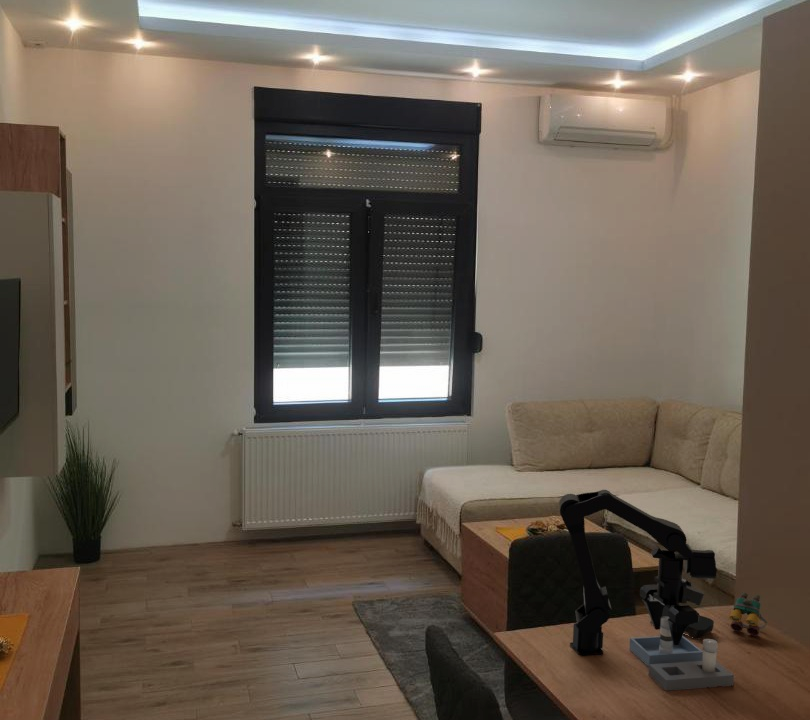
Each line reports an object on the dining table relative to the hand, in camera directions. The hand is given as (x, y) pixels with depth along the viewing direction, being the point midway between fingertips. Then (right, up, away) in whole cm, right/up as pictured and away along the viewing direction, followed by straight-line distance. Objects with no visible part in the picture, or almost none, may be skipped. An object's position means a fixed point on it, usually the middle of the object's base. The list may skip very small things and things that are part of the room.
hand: (666, 636), depth 209 cm
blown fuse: (0, -4, 0) cm, 4 cm away
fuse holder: (+2, -6, -12) cm, 13 cm away
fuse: (+6, -6, -11) cm, 14 cm away
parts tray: (0, -5, 0) cm, 5 cm away
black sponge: (+10, -4, +19) cm, 22 cm away
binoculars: (+26, -5, +17) cm, 31 cm away
